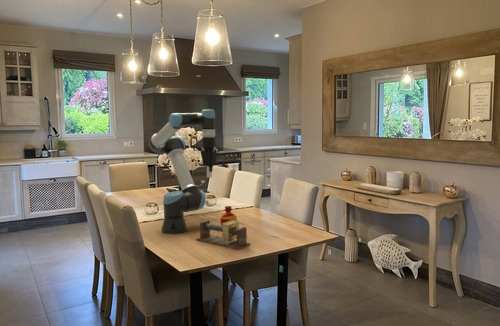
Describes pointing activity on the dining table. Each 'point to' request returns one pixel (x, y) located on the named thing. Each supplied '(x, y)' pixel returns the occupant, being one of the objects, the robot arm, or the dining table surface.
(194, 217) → the dining table surface
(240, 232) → the pipe rig
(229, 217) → the potion bottle
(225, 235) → the collar
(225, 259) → the dining table surface
